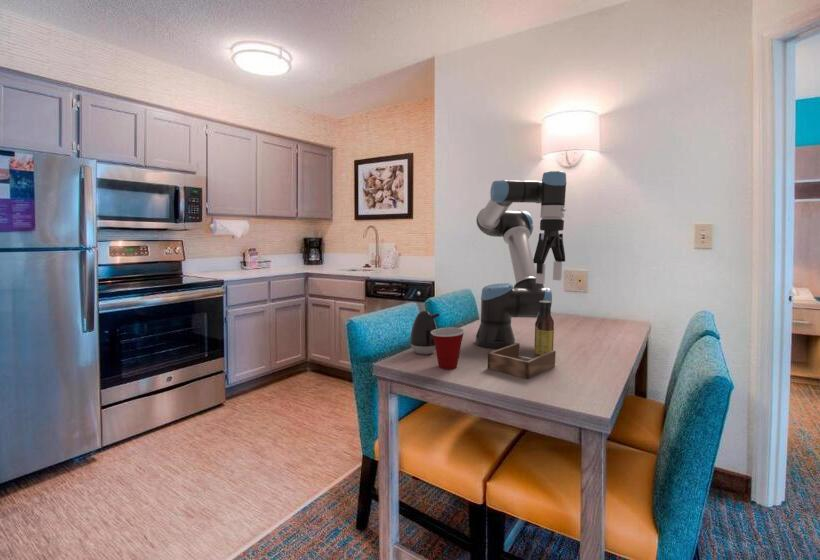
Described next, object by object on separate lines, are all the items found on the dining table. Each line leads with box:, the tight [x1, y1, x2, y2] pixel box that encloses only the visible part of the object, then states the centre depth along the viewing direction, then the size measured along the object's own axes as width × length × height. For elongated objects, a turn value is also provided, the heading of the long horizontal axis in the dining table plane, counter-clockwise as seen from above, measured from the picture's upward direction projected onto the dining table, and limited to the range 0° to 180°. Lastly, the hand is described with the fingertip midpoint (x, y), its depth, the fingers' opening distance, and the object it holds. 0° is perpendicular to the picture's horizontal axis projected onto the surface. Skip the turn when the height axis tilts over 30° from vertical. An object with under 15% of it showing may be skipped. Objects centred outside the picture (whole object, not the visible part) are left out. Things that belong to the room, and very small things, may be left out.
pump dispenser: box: [409, 310, 440, 355], centre depth 149 cm, size 10×10×15 cm
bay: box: [486, 342, 556, 380], centre depth 134 cm, size 14×18×5 cm
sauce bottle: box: [534, 301, 555, 358], centre depth 144 cm, size 7×6×20 cm
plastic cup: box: [431, 326, 466, 370], centre depth 133 cm, size 11×11×12 cm
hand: (548, 281), depth 143 cm, fingers open, 13 cm apart
